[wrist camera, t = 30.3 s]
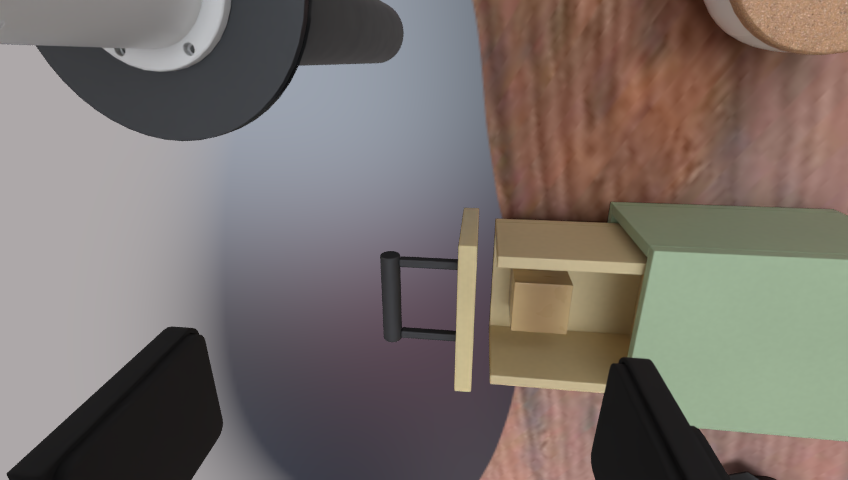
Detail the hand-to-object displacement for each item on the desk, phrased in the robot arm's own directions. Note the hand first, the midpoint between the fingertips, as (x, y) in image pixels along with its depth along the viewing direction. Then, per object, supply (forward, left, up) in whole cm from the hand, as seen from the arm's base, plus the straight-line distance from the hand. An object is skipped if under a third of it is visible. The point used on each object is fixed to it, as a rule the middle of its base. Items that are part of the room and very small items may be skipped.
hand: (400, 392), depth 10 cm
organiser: (+19, -9, -26) cm, 34 cm away
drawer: (+5, -9, -25) cm, 27 cm away
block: (+6, -9, -24) cm, 27 cm away
